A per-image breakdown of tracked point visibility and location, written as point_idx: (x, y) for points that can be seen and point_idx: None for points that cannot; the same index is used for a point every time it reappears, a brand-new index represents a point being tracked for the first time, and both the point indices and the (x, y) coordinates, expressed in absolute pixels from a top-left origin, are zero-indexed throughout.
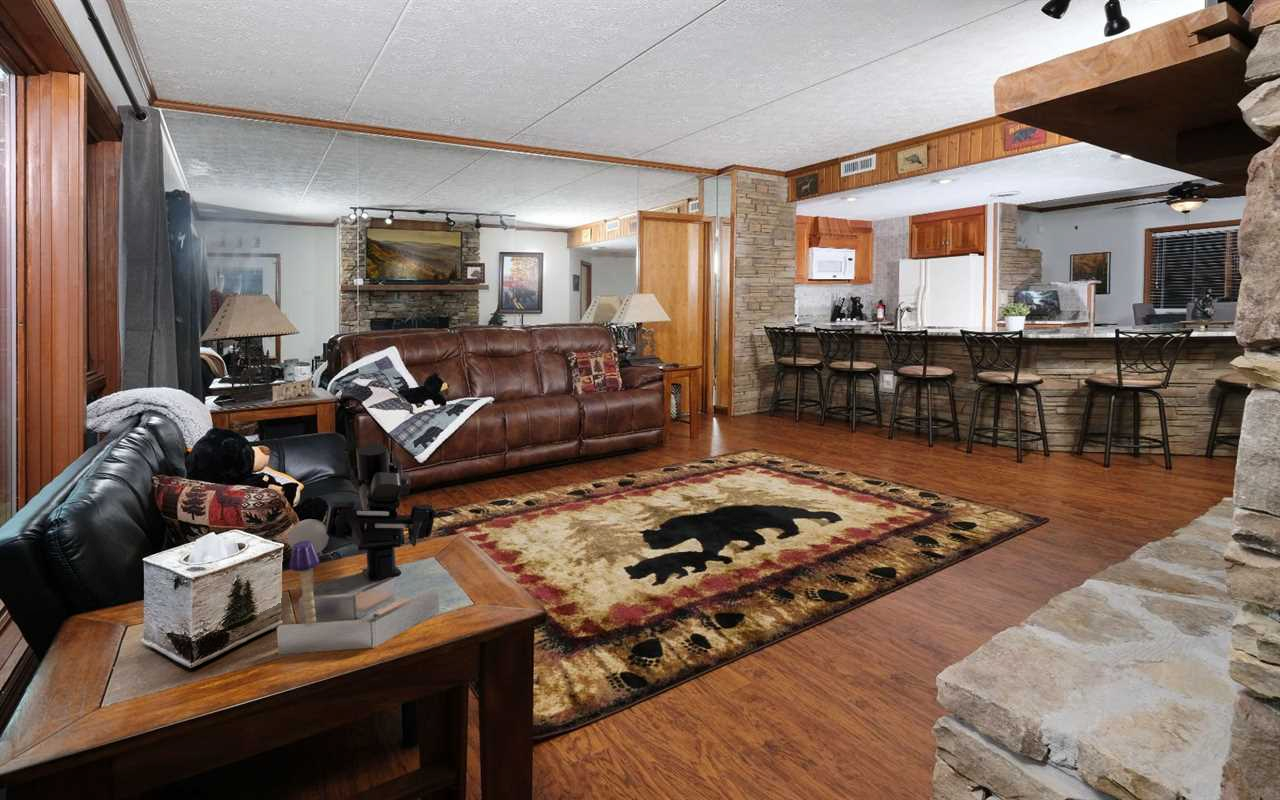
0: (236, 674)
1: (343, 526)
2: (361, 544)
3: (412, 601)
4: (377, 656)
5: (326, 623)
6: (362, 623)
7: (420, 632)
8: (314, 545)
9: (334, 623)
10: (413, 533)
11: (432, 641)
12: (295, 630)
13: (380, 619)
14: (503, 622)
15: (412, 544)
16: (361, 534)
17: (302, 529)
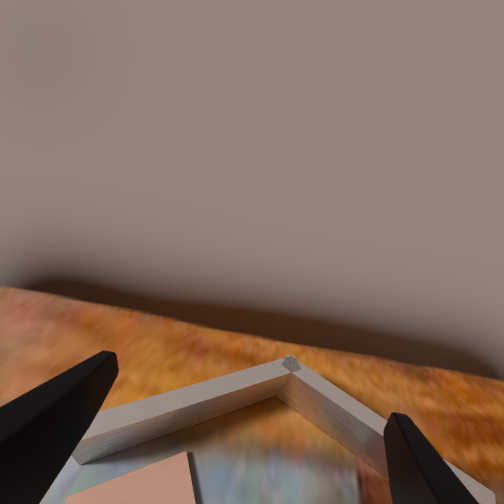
0: (498, 467)
1: None
2: (388, 421)
3: (176, 394)
4: (280, 348)
5: (381, 426)
6: (310, 369)
7: (184, 373)
8: None
9: (364, 411)
10: (59, 396)
11: (190, 328)
12: None
13: (274, 361)
14: (57, 297)
15: (108, 387)
16: (421, 467)
17: None
